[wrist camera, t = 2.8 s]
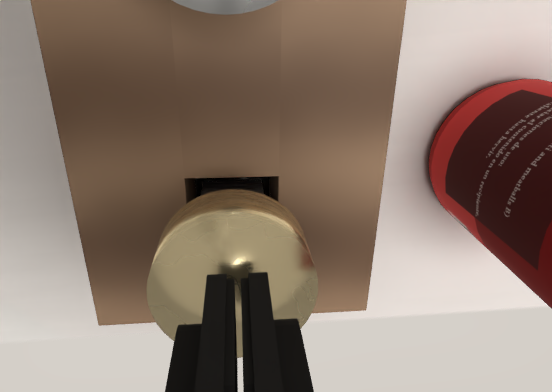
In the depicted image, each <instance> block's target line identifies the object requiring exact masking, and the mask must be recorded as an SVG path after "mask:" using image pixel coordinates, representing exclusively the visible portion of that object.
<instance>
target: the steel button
mask: <svg viewBox="0 0 552 392" xmlns="http://www.w3.org/2000/svg"><path fill="white" fill-rule="evenodd" d="M172 1H174V2H176V3H178V4H180V5H182V6H185V7H188V8H190V9H193V10H197V11H201V12H205V13H210V14H222V15H228V14H241V13H246V12H251V11H255V10H258V9H261V8H264V7H266V6H269V5H271V4H273V3H275V2H276V1H278V0H172Z"/></svg>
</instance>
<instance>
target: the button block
mask: <svg viewBox="0 0 552 392" xmlns="http://www.w3.org/2000/svg"><path fill="white" fill-rule="evenodd" d="M406 1H407V0H278V1H276V2H275V3H273V4H271V5H269V6H266V7H264V8H261V9H258V10H255V11H251V12H246V13H241V14H228V15H222V14H210V13H205V12H201V11H197V10H193V9H190V8H188V7H185V6H182V5H180V4H178V3H176V2H174V1H172V0H31V5H32V10H33V15H34V19H35V24H36V29H37V34H38V38H39V43H40V48H41V53H42V58H43V62H44V67H45V72H46V77H47V81H48V86H49V91H50V96H51V100H52V105H53V110H54V115H55V119H56V124H57V129H58V134H59V138H60V143H61V148H62V153H63V157H64V162H65V167H66V172H67V176H68V181H69V186H70V191H71V195H72V200H73V205H74V210H75V214H76V219H77V224H78V229H79V234H80V238H81V243H82V248H83V253H84V257H85V262H86V267H87V272H88V276H89V281H90V286H91V291H92V295H93V300H94V305H95V310H96V314H97V319H98V324H99V325H116V324H134V323H151V322H156V321H155V320H154V318H153V316H152V314H151V311H150V309H149V305H148V301H147V290H146V289H147V280H148V276H149V273H150V269H151V266H152V263H153V260H154V256H155V253H156V250H157V247H158V244H159V241H160V237H161V234H162V232H163V230H164V228H165V226H166V224H167V223H168V221H169V220H170V218H171V217H172V216H173V215H174V214H175V213H176V212H177V211H178V210H179V209H180V208H181V207H182V206H184V205H185V204H187V203H188V202H190V201H191V200H193V199H195V198H197V191H196V178H222V177H264V176H270V197H271V198H273V199H274V200H276V201H278V202H279V203H281V204H282V205H283V206H285V207H286V208H287V209H288V210H289V211H290V212H291V213H292V214H293V215H294V217H295V218H296V219H297V221H298V222H299V224H300V226H301V228H302V230H303V233H304V236H305V239H306V242H307V245H308V248H309V251H310V254H311V257H312V260H313V263H314V266H315V269H316V272H317V278H318V294H317V300H316V303H315V306H314V309H313V311H312V313H326V312H344V311H361V310H366V308H367V300H368V292H369V285H370V277H371V269H372V262H373V254H374V246H375V239H376V231H377V223H378V216H379V208H380V200H381V193H382V185H383V177H384V170H385V162H386V154H387V147H388V139H389V132H390V124H391V116H392V109H393V101H394V93H395V86H396V78H397V70H398V63H399V55H400V47H401V40H402V32H403V24H404V17H405V9H406Z"/></svg>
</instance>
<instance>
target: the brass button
mask: <svg viewBox="0 0 552 392" xmlns="http://www.w3.org/2000/svg"><path fill="white" fill-rule="evenodd" d="M256 272H267V273H268V279H269V287H270V294H271V302H272V309H273V317H274V320H276V319H294V318H297V319H298V321H299V325H300V329H301V328H302V326H303V325H304V324H305V323H306V321H307V320H308V318H309V317H310V315H311V313H312V311H313V309H314V306H315V303H316V300H317V294H318V278H317V272H316V269H315V266H314V263H313V260H312V257H311V254H310V251H309V248H308V245H307V242H306V239H305V236H304V233H303V230H302V228H301V226H300V224H299V222H298V221H297V219H296V218H295V217H294V215H293V214H292V213H291V212H290V211H289V210H288V209H287V208H286V207H285V206H283V205H282V204H281V203H279V202H278V201H276V200H274V199H273V198H271V197H268V196H266V195H264V191H263V186H262V180H261V179H258V180H218V181H203V186H202V192H201V196H199V197H197V198H195V199H193V200H191V201H190V202H188V203H187V204H185V205H184V206H182V207H181V208H180V209H179V210H178V211H177V212H176V213H175V214H174V215H173V216H172V217H171V218H170V220H169V221H168V223H167V224H166V226H165V228H164V230H163V232H162V234H161V237H160V241H159V244H158V247H157V250H156V253H155V256H154V260H153V263H152V266H151V269H150V273H149V276H148V280H147V289H146V290H147V301H148V305H149V309H150V311H151V314H152V316H153V318H154V320H155V321H156V323H157V324H158V326H159V327H160V328H161V329H162V331H163V332H164V333H165V334H166V335H168V336H169V337H170V338H171V339H172V340H173V341H175V335H176V330H177V326H178V325H184V324H202V317H203V307H204V297H205V288H206V278H207V275H210V274H227V279H235V308H236V338H237V358H239V357H243V346H242V308H241V278H248V273H256Z"/></svg>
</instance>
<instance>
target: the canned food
mask: <svg viewBox="0 0 552 392" xmlns="http://www.w3.org/2000/svg"><path fill="white" fill-rule="evenodd" d="M429 175H430V179H431V183H432V186H433V189H434V192H435V194H436V196H437V198H438V200H439V202H440V203H441V205H442V206H443V207H444V208H445V209H446V210H447V211H448V212H449V213H450V214H451V215H452V216H453V217H454V218H455V219H456V220H457V221H458V222H459V223H460V224H461V225H462V226H464V227H465V228H466V229H467V230H468V231H469V232H470V233H471V234H472V235H473V236H474V237H475V238H476V239H478V240H479V241H480V242H481V243H482V244H483V245H484V246H485V247H486V248H487V249H488V250H489V251H490V252H491V253H493V254H494V255H495V256H496V257H497V258H498V259H499V260H500V261H501V262H502V263H503V264H504V265H505V266H507V267H508V268H509V269H510V270H511V271H512V272H513V273H514V274H515V275H516V276H517V277H518V278H519V279H521V280H522V281H523V282H524V283H525V284H526V285H527V286H528V287H529V288H530V289H531V290H532V291H533V292H534V293H536V294H537V295H538V296H539V297H540V298H541V299H542V300H543V301H544V302H545V303H546V304H547V305H548V306H550V307H551V308H552V82H549V81H544V80H539V79H520V80H515V81H510V82H505V83H500V84H495V85H493V86H490V87H488V88H485V89H482V90H480V91H478V92H477V93H475V94H473V95H472V96H470V97H468V98H467V99H466V100H464V101H463V102H462V103H461V104H460V105H458V106H457V107H456V108H455V109H454V110H453V111H452V112H451V113H450V115H449V116H448V117H447V118H446V119H445V120H444V122H443V124H442V125H441V127H440V128H439V130H438V132H437V133H436V136H435V138H434V141H433V144H432V146H431V151H430V156H429Z"/></svg>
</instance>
